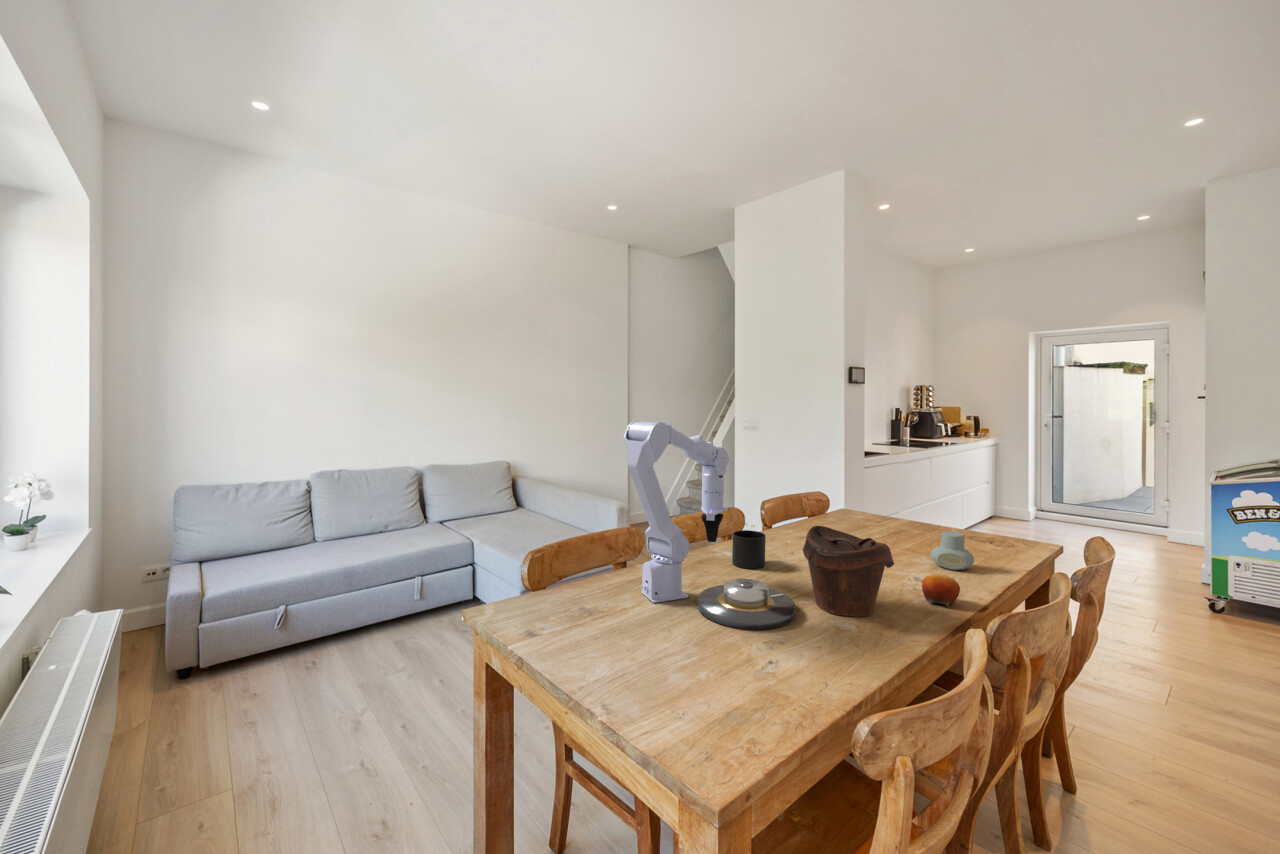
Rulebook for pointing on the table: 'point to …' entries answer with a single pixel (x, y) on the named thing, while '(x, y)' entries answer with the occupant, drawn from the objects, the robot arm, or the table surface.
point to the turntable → (746, 610)
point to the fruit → (940, 589)
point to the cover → (746, 594)
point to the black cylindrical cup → (748, 549)
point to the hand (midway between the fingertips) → (712, 541)
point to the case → (845, 570)
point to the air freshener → (952, 552)
